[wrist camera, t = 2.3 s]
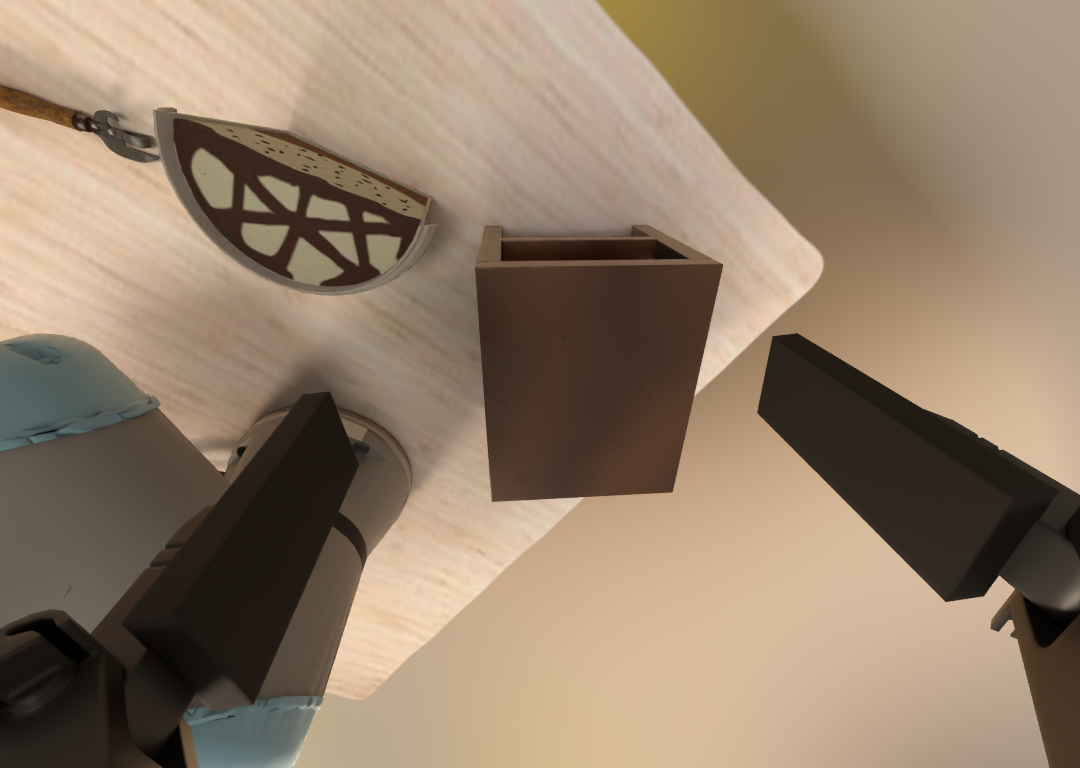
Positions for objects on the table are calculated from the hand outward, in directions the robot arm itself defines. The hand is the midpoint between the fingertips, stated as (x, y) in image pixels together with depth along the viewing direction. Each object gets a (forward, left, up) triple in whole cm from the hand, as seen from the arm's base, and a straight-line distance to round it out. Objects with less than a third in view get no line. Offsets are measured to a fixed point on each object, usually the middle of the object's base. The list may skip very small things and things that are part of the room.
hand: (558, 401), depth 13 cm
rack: (+3, -6, -21) cm, 22 cm away
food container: (-12, +3, -21) cm, 24 cm away
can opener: (-27, +8, -21) cm, 35 cm away
